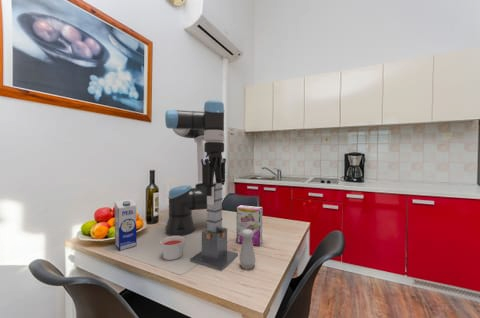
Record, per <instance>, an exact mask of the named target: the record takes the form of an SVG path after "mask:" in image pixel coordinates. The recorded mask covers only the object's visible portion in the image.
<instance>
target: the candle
mask: <svg viewBox="0 0 480 318" xmlns="http://www.w3.org/2000/svg"><path fill="white" fill-rule="evenodd" d="M159 243H160V248H161V253H162V257H163V259H164V260H167V261H174V260H177V259H179V258H180V257H182V254H183V249H184V244H185V237H184V236H183V235H180V236H172V235H169V236H166V237H164V238H162V239H161V240H160V242H159Z"/></svg>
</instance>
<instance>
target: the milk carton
mask: <svg viewBox="0 0 480 318" xmlns="http://www.w3.org/2000/svg"><path fill="white" fill-rule="evenodd" d="M137 236H138V235H137V204H136V202H135V201H134V199H132V198H129V199H123V200H122V199H121V200H114V246H115V247H116V249H117V250H118V251H119V252H121V251H124V250H128V249H131V248H135V247H137V243H138V242H137V240H138V239H137Z"/></svg>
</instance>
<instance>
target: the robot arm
mask: <svg viewBox="0 0 480 318" xmlns="http://www.w3.org/2000/svg"><path fill="white" fill-rule="evenodd" d="M203 104H204V107H203V111H195V110H192V111H191V110H179V109H167V110H166V111H165V115H164V116H165V119H164V121H165V126H166V128H167V129H172V131H173V133H174V134H175V135H177V136H179V137H183V138H185V139H194V142H195V143H196V153H197V155H196V156H197V157H196V158H197V182H196V183H195V187H193V186H192V185H191V184H190V185H180V186H176V187H172V188H171V189H170V190H168V218H167V222H166V226H165V228H164V229H165V230H164V231H165V232H164V233H165V234H166V235H169V236H186V235H189V234H192V233H193V232H194V231H195V230H196V224H195V222H194V219H193V214H192V211H198V210H200V211H201V210H207V204H210V205H214V187H212V186H213V182H219V183H222V186H225V182H226V162H227V159H226V158H225V157H223V155H222V153H224V152H225V143H224V142H225V107H224V102H223V101H221V100H217V99H216V100H213V99H212V100H211V99H210V100H207V101H205V102H204V103H203ZM214 178H215V181H214ZM206 189H207V190H206ZM206 199H207V201H206Z"/></svg>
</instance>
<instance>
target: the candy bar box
mask: <svg viewBox="0 0 480 318" xmlns="http://www.w3.org/2000/svg"><path fill="white" fill-rule="evenodd" d="M245 229H250V230H252V231H253V234H254V235H253V238H252V242H253V246H256V247H260V246H261V245H262V243H263V207H262V206H252V205H251V206H250V205H244V204H243V205H242V204H240V205H239V206H237V207H236V244H242V241H243V237H242V234H241V233H242V231H243V230H245Z"/></svg>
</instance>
